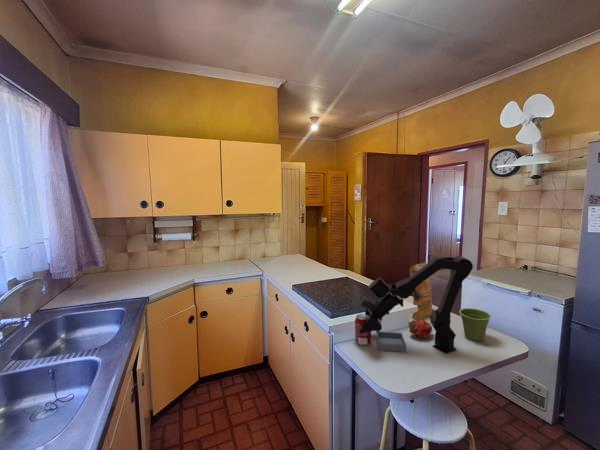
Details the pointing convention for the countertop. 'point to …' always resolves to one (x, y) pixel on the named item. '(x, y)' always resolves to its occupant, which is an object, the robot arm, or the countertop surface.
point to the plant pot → (474, 323)
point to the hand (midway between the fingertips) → (359, 328)
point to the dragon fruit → (420, 328)
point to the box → (390, 342)
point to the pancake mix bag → (422, 295)
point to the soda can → (361, 338)
